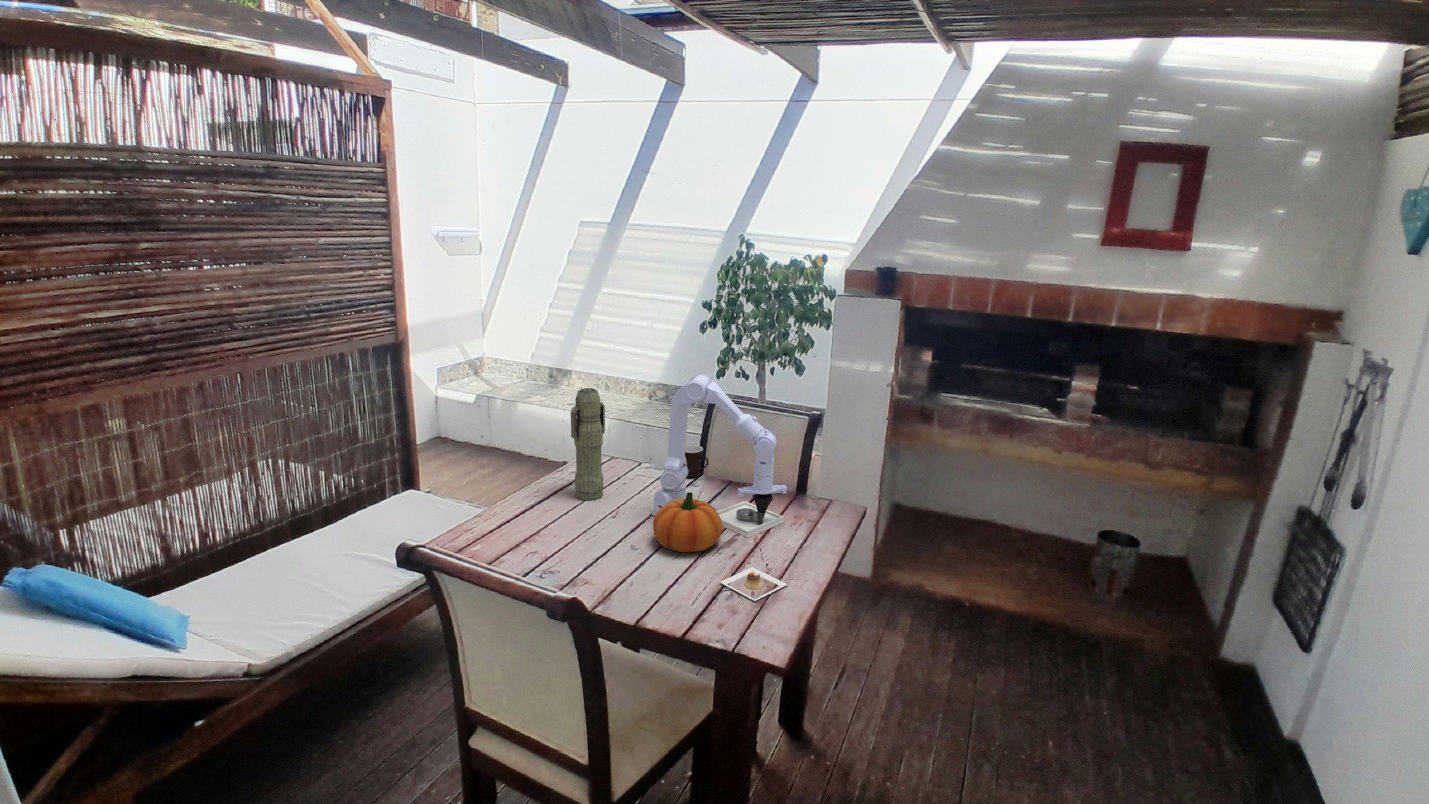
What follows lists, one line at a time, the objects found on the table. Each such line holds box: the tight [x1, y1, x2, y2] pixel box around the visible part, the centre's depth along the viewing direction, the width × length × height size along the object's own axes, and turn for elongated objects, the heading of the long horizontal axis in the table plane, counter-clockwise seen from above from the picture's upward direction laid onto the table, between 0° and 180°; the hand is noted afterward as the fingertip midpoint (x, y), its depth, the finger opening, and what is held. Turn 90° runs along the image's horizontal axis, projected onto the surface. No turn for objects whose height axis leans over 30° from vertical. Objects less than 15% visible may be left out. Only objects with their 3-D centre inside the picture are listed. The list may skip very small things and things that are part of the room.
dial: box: [736, 508, 763, 524], centre depth 213 cm, size 10×6×3 cm, turn 41°
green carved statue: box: [570, 387, 606, 502], centre depth 226 cm, size 9×12×35 cm
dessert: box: [719, 566, 788, 602], centre depth 177 cm, size 12×12×5 cm
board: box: [716, 501, 785, 538], centre depth 215 cm, size 16×16×2 cm
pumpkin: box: [652, 492, 724, 553], centre depth 198 cm, size 19×19×15 cm
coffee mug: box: [685, 444, 709, 480], centre depth 248 cm, size 12×9×10 cm
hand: (760, 516), depth 212 cm, fingers closed
